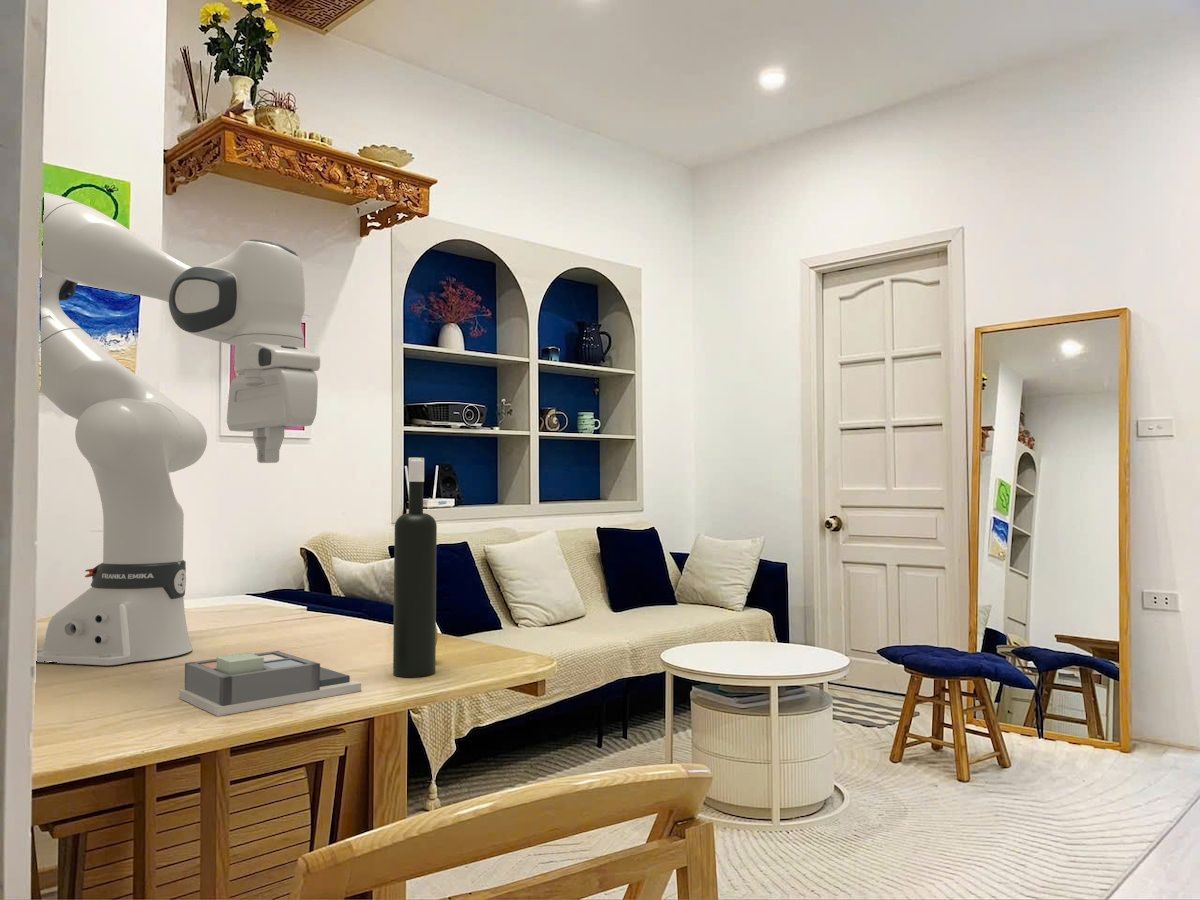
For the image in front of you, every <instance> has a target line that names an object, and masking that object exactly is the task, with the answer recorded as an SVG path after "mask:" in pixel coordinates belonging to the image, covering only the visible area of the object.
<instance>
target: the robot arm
mask: <svg viewBox="0 0 1200 900" xmlns="http://www.w3.org/2000/svg"><path fill="white" fill-rule="evenodd" d="M43 192H44V215H43V247H42V277H41V387H40V390H39V392H41V393H42V394H43V395H44V397H46V398H48V400H49V401H50V402H51V403H53V405H55V406H56V408H58V409H59V410H60V411H61V412H62V413H64V414H65V415H67V416H69V417H72V418H73V419H76V420H77V422H76V426H75V430H74V432H75V433H74V434H75V442H76V446H77V448H78V450H79V452H80V454H82V456H83V457H84V458H85V459H86V460H87V461H88V464H89V465H90V468H91V469H92V472H93V475H94V478H95V481H96V482H95V483H96V485H97V490H98V493H99V497H100V501H101V508H102V518H103V519H102V520H103V533H102V534H103V535H102V536H103V538H102V539H103V540H102V541H103V545H102V546H103V548H102V550H103V551H102V553H103V554H102V555H103V556H102V562H101V563H99V564H98V565H96V566H95V567H93V568H89V569H86V570H84V571H85V572H87V574H85V575H84V577H85V578H92V580H91V583H90V588H88V589H87V590H86V591H84V592H83V593H82V594H80V595H79V596H77V598H75V599H74V600H72V601H71V602H70V603H68V604H67V605H65V606H64V607H63V608H62V609H60V610H58V611H57V612H56V613H55V614H54V615H52V617H51V618H50V620H49V621H48V624H47V628H46V631H45V637H44V643H43V646H41V647H38V648H36V649H37V662H36V663H45V662H44V661H52V662H57V663H56V664H69V665H70V664H71V665H73V664H75V665H89V666H90V665H93V666H117V665H122V664H128V663H135V662H145V661H153V660H160V659H161V660H162V659H166V658H172V657H177V656H181V655H184V654H187V653H190V652H191V651H193V646H192V643H191V642H192V641H191V639H190V634H189V631H188V626H187V625H188V624H187V620H186V611H185V600H184V599H185V595H186V586H187V574H186V573H187V571H186V569H187V567H186V566H187V565H186V561H185V559H183V558H184V525H185V524H184V523H185V522H184V519H185V517H184V515H185V514H184V509H183V508H182V506H181V504H180V503H179V502H178V500H177V498H176V495H175V492H174V489H173V485H172V480H171V476H170V473H175V472H178V471H181V470H184V469H186V468H187V467H191V466H193V465H194V464H196V463H197V462H198V461H199V460H200V459H201V458H202V456H203V455H204V454H205V451H206V447H207V445H208V437H207V432H206V429H205V426H204V425H203V424H202V422H201V421H200V420H199V419H198V418H197V417H195V416H194V415H193V414H192V413H190V412H188V411H187V410H185V409H184V408H182V407H181V406H179V405H178V404H177V403H175V402H174V401H173V400H172V399H171V398H169V397H167V396H166V395H165V394H164V393H162V392H161V391H160V390H158V389H157V388H156V387H154V386H152V385H151V384H150V383H149V382H147V381H146V380H144V379H143V378H142V377H140V376H138V375H137V374H136V373H134V372H132V371H131V370H130V369H128V368H127V367H125V366H124V365H123V364H122V363H121V362H120V361H118V360H117V359H116V358H115V357H114V356H112V354H110V353H109V352H108V351H107V350H106V349H104V347H103V346H101V345H100V344H99V343H98V342H97V341H96V340H95V339H94V338H93V337H91V335H89V334H88V333H87V332H86V331H85V330H84V329H83V328H82V327H81V326H79V325H78V324H77V323H75V321H73V320H72V319H71V318H70V317H69V316H68V315H67V314H66V313H65V312H64V310H63V308H62V306H61V304H60V301H63V302H64V301H68V300H69V299H72V298H73V297H74V296H75V294H76V292H77V286H78V284H79V285H83V286H86V287H92V288H97V289H102V290H107V291H113V292H117V293H123V294H125V293H126V294H131V295H136V296H140V297H141V296H142V297H147V298H152V299H156V300H160V301H163V302H166V303H168V307H169V312H170V315H171V318H172V320H173V321H174V323H175V325H176V326H177V327H179V329H180V330H182V331H184V332H186V333H189V334H191V335H194V336H196V337H200V338H204V339H209V340H212V341H216V342H219V343H224V344H228V345H232V346H234V372H235V373H237V375H236V376H235V378H233V379H232V380H231V382H230V385H229V389H228V397H227V409H226V410H227V412H226V423H227V424H226V425H227V427H228V430H229V431H231V432H241V433H243V432H244V433H245V432H246V433H247V432H249V433H251V432H252V438H253V439H252V440H253V441H254V445H255V449H256V461H257V462H258V463H259V464H275V463H276V464H277V463H278V462H279V461H280V450H281V447H282V445H283V442H284V438H285V429H289V428H291V429H292V428H301V427H302V428H303V427H310V426H312V425H313V423H314V421H315V419H316V415H317V410H318V409H317V407H318V383H319V382H318V376H317V373H316V372H317V371H319V370H320V369H321V368H320V367H321V356H320V355H319V354H318V353H316V352H314V351H312V350H309V349H308V348H306V347H305V336H304V333H303V328H302V327H303V326H302V320H303V316H304V313H305V310H306V309H305V306H306V304H305V302H306V297H305V291H306V289H305V276H304V271H303V270H304V267H303V264H302V261H301V258H300V256H299V255H298V254H297V253H296V252H295V251H293V250H292V249H290V248H288V247H286V246H284V245H282V244H279V243H274V242H272V241H267V240H262V239H248V240H245V241H242V242H241V243H240V244H239V245H238V247H237V248H236V249H235V250H234V251H233V252H232V253H230V254H228V255H226V256H225V257H222V258H221V259H218V260H215V261H214V262H211V263H208V264H206V265H205V264H204V265H202V266H191V265H189V264H187V263H184V262H182V261H180V260H178V259H177V258H175V257H173V256H172V255H170V254H168V253H167V252H165V251H163V250H162V249H160V248H159V247H157V246H156V245H154V244H152V243H151V242H149V241H147V240H146V239H144V238H143V237H142V236H140V235H138V234H136V233H135V232H134V231H132V230H131V229H129V228H127V227H126V226H124V225H123V224H122V223H120V222H119V221H116V220H115V219H113V218H112V217H110V216H108V215H106V214H104V213H103V212H102V211H99V210H97V209H96V208H93V207H91V206H88V205H87V204H84V203H81V202H79V201H76V200H74V199H71V198H68V197H66V196H61V195H58V194H54V193H49V192H45V191H43Z"/></svg>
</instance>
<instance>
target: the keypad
mask: <svg viewBox="0 0 1200 900" xmlns="http://www.w3.org/2000/svg"><path fill="white" fill-rule="evenodd" d="M253 654H254V655H257V656H263V655H271V654H273V655H276V656H279V657H282V658H284V659H276V660H269V661H264V663H271V662H278V661H285V660H293V661H296V662H299V663H302V665H295V666H288V667H281V668H275V669H271V668H268V667H265V666H264V670H261V671H254V672H247V673H240V674H233V675H227V674H224V673H221V672H219V671H216V668H212V669H211V668H208V667H206V666H203V665H200V664H205V663H212V662H217V658H213V659H206V660H198V661H197V660H196V661H190V662H185V663H184V688H183V689H179V690H178V692H179V693H178V699H180V700H182V701H184V702H187V703H188V704H191V705H192V706H195V707H197V708H199V709H201V710H203V711H205V712H208V713H210V714H212V715H214V716H216V717H220V716H225V715H226V716H228V715H231V714H232V715H234V714H238V713H244V712H249V711H254V710H260V709H266V708H267V709H268V708H272V707H279V706H283V705H287V704H288V705H289V704H294V703H295V704H296V703H300V702H306V701H313V700H317V699H323V698H328V697H335V696H341V695H346V694H352V693H353V694H354V693H359V692H362V682H359V681H356V680H353V679H350V675H349V674H345V673H342V672H338V671H336V670H333V669H329V668H325V667H322V666H321V663H319V662H316V661H313V660H309V659H307V658H306V659H305V658H302V657H299V656H296V655H293V654H289V653H286V652H283V651H280V650H273V651H267V652H260V653H253Z"/></svg>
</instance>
